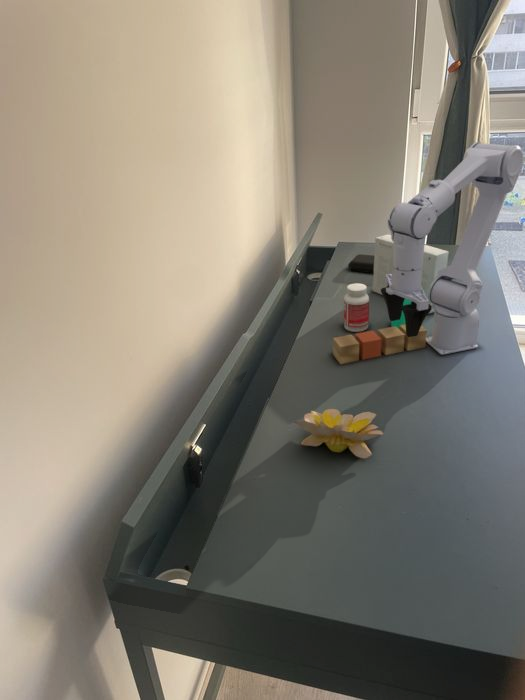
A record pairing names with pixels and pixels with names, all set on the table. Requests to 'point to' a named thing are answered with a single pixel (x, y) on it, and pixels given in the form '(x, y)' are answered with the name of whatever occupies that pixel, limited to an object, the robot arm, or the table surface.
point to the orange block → (369, 344)
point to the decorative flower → (340, 431)
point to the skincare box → (383, 265)
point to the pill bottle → (356, 308)
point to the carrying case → (362, 263)
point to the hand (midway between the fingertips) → (403, 327)
